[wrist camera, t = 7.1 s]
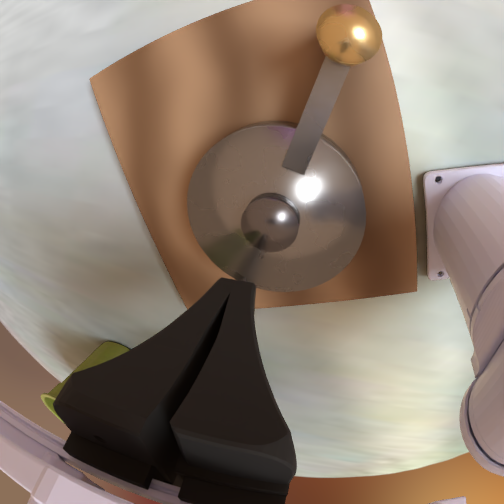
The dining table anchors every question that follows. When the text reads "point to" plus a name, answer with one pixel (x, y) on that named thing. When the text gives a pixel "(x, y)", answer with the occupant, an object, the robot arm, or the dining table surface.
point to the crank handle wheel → (288, 180)
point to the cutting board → (249, 112)
